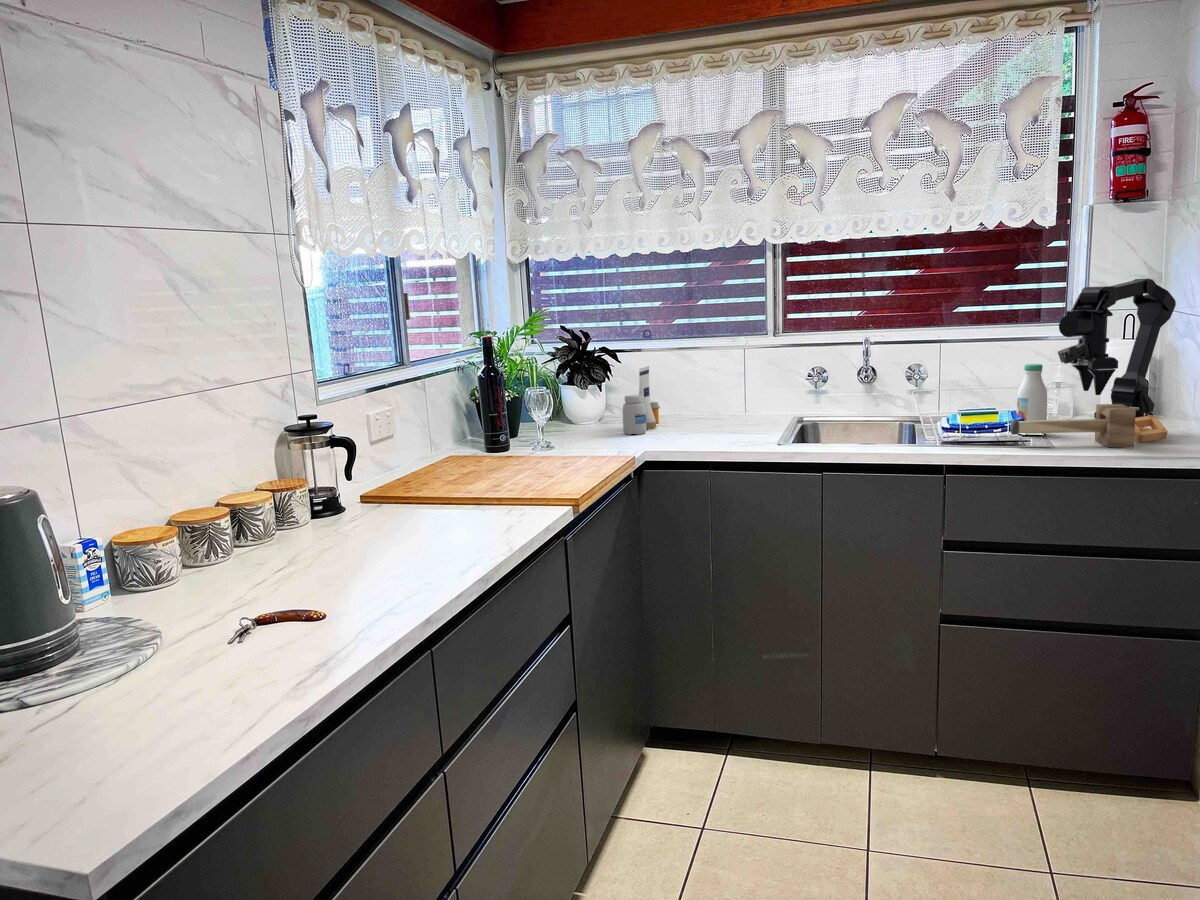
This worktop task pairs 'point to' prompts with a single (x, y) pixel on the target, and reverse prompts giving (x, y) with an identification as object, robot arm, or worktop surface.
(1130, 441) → the bearing block
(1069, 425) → the shaft
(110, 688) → the worktop surface
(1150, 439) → the frame
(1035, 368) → the milk bottle
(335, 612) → the worktop surface
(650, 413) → the toiletry set
